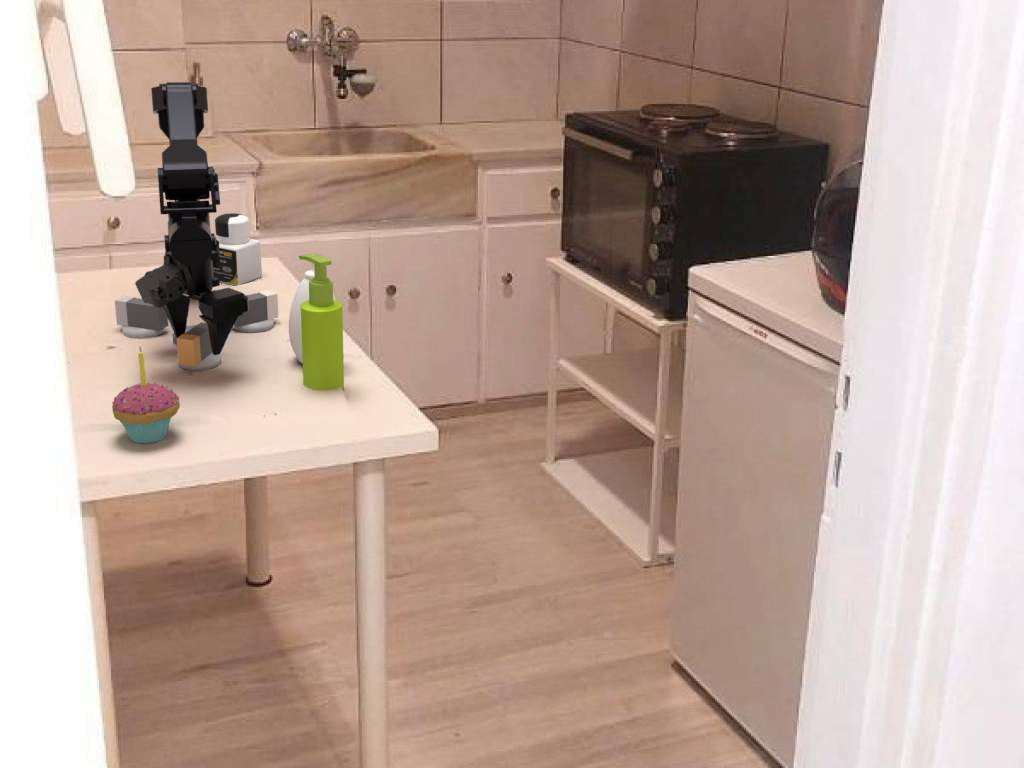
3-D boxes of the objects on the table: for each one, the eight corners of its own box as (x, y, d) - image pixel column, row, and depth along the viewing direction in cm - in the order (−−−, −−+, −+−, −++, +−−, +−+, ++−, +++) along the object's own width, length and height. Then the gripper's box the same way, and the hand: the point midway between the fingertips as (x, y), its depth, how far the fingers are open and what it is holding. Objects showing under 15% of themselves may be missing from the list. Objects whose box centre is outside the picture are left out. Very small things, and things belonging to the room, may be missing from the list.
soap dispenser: (324, 376, 177) (320, 248, 169) (352, 390, 173) (349, 259, 165) (291, 386, 173) (286, 255, 165) (319, 400, 169) (315, 266, 161)
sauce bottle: (350, 372, 179) (348, 258, 172) (303, 381, 175) (298, 265, 168) (329, 355, 185) (326, 244, 178) (282, 364, 181) (277, 251, 174)
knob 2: (244, 336, 188) (242, 306, 186) (223, 325, 192) (221, 295, 190) (285, 326, 193) (283, 296, 191) (263, 315, 197) (262, 286, 195)
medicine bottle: (207, 280, 218) (203, 216, 213) (232, 270, 224) (229, 208, 219) (237, 286, 215) (233, 222, 210) (262, 277, 221) (259, 214, 216)
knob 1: (191, 351, 181) (189, 320, 179) (230, 355, 180) (228, 324, 178) (167, 369, 174) (164, 336, 172) (207, 374, 173) (205, 341, 171)
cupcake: (112, 427, 158) (104, 343, 154) (177, 419, 161) (171, 337, 157) (118, 454, 151) (109, 367, 146) (186, 445, 154) (179, 360, 149)
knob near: (175, 327, 191) (173, 297, 189) (153, 340, 185) (150, 310, 183) (133, 321, 192) (130, 292, 191) (110, 334, 187) (107, 304, 185)
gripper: (105, 242, 170) (115, 343, 176) (181, 271, 159) (189, 377, 165) (171, 229, 178) (179, 326, 184) (248, 255, 167) (253, 357, 173)
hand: (198, 346), depth 176 cm, fingers open, 9 cm apart
